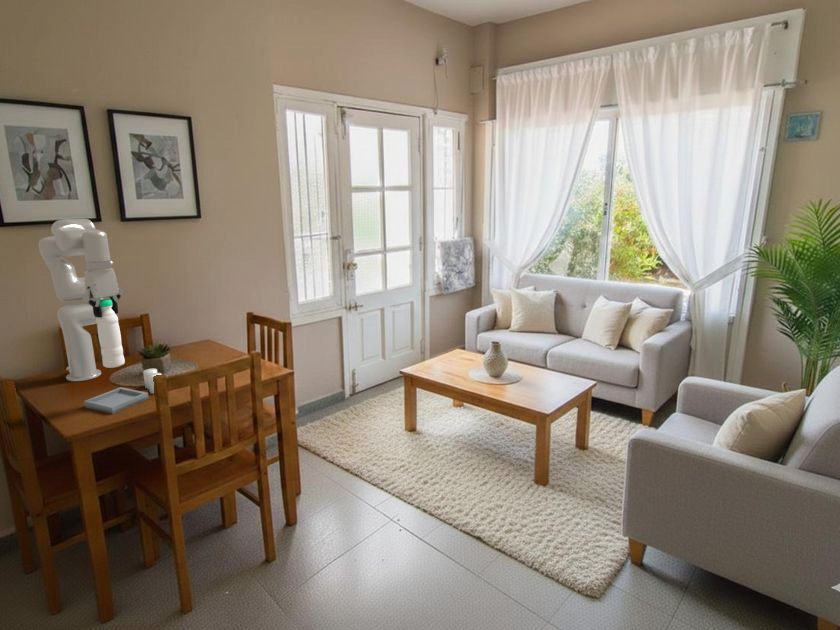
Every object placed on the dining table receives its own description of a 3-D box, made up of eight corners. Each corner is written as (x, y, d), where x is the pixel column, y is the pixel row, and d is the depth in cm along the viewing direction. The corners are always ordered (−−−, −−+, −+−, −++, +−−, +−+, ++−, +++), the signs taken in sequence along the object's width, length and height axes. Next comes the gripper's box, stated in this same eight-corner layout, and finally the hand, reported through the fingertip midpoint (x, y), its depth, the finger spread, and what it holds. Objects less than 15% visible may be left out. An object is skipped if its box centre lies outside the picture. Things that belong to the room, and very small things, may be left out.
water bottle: (115, 368, 187) (105, 302, 182) (98, 367, 189) (87, 301, 183) (129, 362, 194) (119, 298, 188) (113, 361, 195) (103, 297, 190)
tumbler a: (146, 392, 203) (144, 376, 201) (157, 388, 207) (155, 372, 206) (155, 394, 201) (153, 377, 199) (166, 390, 205) (164, 373, 204)
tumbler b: (142, 387, 208) (140, 371, 206) (153, 383, 212) (150, 367, 210) (151, 389, 206) (149, 373, 204) (161, 385, 210) (159, 369, 209)
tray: (84, 407, 189) (83, 401, 189) (121, 392, 203) (120, 387, 202) (112, 413, 183) (111, 407, 183) (148, 398, 197) (148, 392, 196)
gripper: (113, 262, 192) (120, 309, 196) (68, 268, 176) (76, 319, 181) (128, 263, 189) (134, 311, 193) (83, 269, 174) (91, 321, 178)
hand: (106, 314), depth 187 cm, fingers closed on water bottle, 5 cm apart
